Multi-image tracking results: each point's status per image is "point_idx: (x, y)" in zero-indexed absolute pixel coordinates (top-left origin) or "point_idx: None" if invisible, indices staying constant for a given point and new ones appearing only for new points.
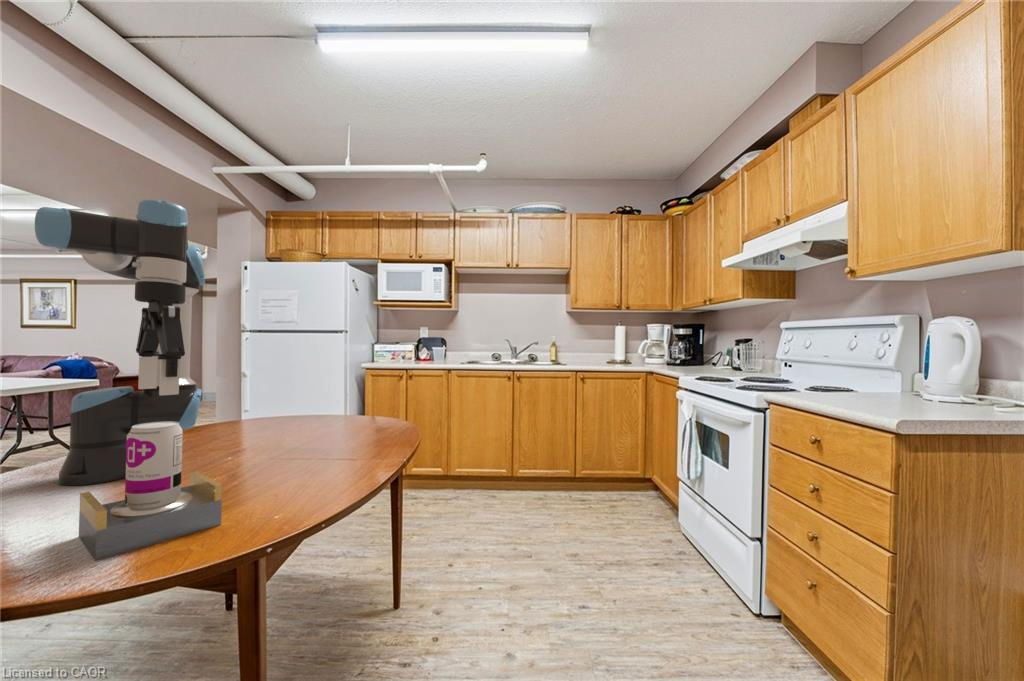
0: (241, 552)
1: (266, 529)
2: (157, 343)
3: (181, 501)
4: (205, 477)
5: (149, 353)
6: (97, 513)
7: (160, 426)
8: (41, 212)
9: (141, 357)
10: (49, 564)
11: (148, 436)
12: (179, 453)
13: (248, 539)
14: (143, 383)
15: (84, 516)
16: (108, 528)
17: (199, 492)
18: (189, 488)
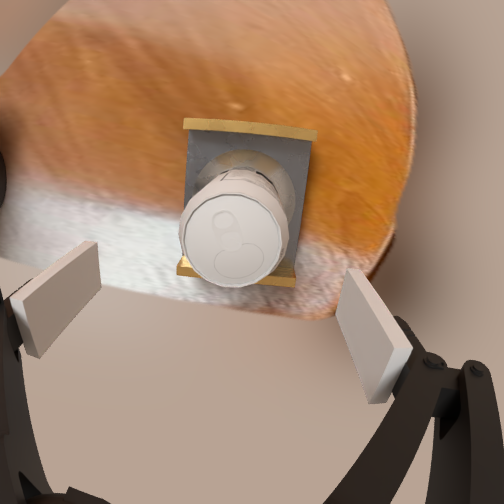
0: (407, 168)
1: (375, 112)
2: (5, 363)
3: (275, 174)
4: (245, 125)
5: (8, 332)
6: (294, 286)
7: (253, 239)
8: None
9: (39, 353)
10: (254, 287)
11: (277, 265)
12: (272, 189)
13: (384, 142)
14: (90, 286)
15: None
16: (293, 265)
17: (242, 134)
18: (204, 135)
